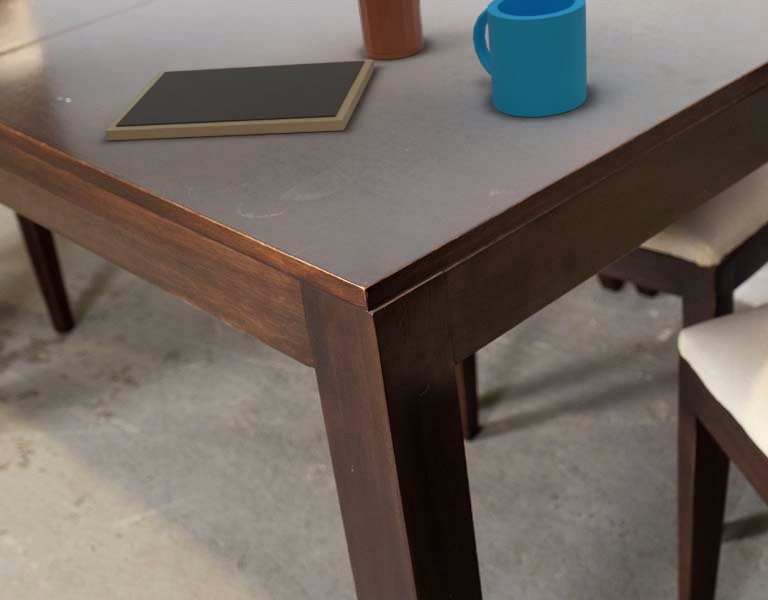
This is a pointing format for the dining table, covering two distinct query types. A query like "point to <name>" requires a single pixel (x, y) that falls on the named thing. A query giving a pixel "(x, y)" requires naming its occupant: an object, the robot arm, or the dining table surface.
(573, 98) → the mug
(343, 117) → the small chalkboard
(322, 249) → the dining table surface
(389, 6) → the pen cup
